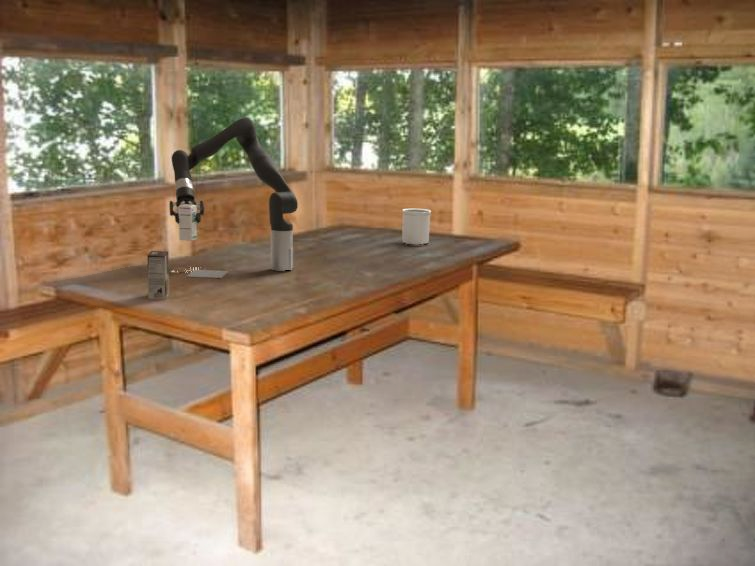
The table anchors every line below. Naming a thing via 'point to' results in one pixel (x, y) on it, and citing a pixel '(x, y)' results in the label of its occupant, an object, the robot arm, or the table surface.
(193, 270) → the tile
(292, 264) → the robot arm
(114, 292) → the table surface
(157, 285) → the coffee box
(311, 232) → the table surface
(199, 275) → the mat
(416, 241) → the utensil holder
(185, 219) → the syrup box
